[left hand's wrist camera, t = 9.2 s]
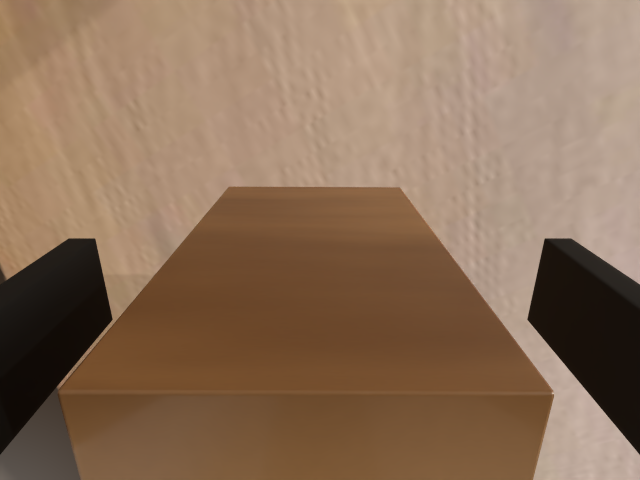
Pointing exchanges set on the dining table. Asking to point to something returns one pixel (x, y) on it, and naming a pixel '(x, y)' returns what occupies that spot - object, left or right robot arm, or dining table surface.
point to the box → (308, 355)
